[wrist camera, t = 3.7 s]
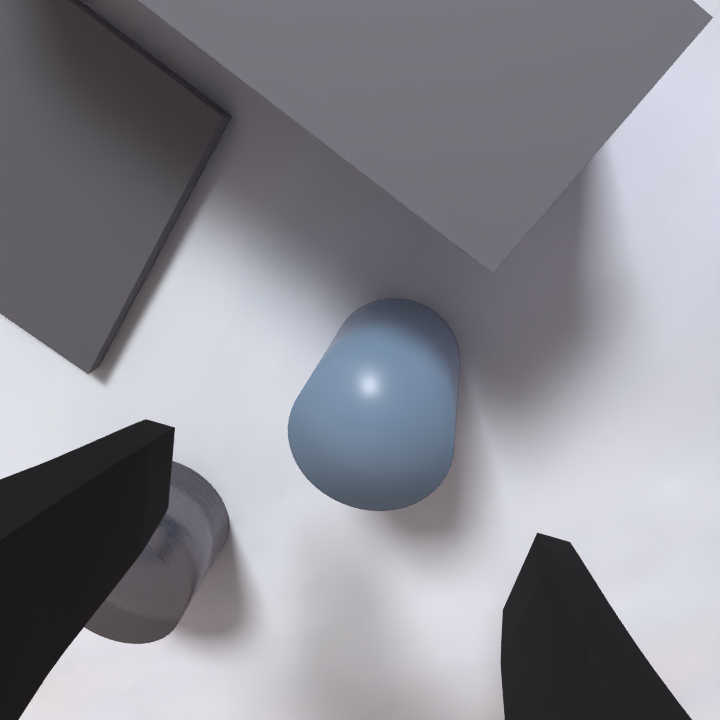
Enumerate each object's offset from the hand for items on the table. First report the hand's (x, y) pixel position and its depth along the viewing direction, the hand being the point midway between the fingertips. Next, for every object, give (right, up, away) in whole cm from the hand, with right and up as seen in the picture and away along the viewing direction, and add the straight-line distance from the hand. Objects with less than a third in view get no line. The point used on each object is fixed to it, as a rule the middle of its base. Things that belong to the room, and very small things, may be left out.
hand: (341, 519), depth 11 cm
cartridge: (+2, +3, +7) cm, 8 cm away
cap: (-7, -3, +11) cm, 14 cm away
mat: (-10, +9, +7) cm, 15 cm away
